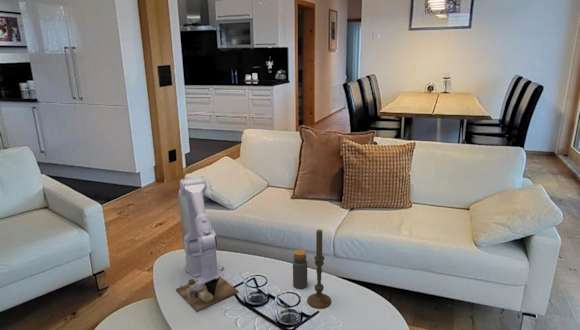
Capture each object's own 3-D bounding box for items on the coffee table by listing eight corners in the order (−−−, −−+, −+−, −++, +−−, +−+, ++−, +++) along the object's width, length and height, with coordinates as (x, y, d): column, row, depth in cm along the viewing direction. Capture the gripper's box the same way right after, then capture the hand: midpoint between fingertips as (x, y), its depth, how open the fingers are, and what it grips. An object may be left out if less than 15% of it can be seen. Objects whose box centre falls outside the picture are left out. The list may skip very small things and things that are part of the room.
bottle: (306, 289, 155) (306, 256, 152) (291, 288, 157) (291, 254, 153) (308, 282, 161) (308, 249, 157) (294, 280, 162) (294, 247, 158)
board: (176, 290, 156) (176, 288, 156) (215, 274, 167) (215, 272, 167) (197, 312, 143) (197, 309, 143) (238, 293, 154) (238, 290, 154)
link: (186, 287, 156) (186, 281, 155) (193, 284, 158) (192, 278, 157) (206, 303, 146) (205, 296, 145) (213, 299, 148) (212, 292, 147)
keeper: (187, 296, 150) (186, 288, 149) (201, 291, 154) (200, 283, 153) (190, 300, 148) (189, 292, 147) (204, 295, 151) (203, 287, 150)
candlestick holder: (314, 311, 142) (315, 236, 134) (302, 298, 150) (302, 226, 142) (335, 304, 146) (337, 230, 138) (322, 292, 154) (323, 221, 146)
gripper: (205, 275, 138) (208, 308, 142) (229, 257, 151) (231, 288, 154) (189, 270, 141) (193, 303, 145) (214, 253, 154) (217, 283, 157)
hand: (211, 295), depth 150 cm, fingers closed, pressing on link
